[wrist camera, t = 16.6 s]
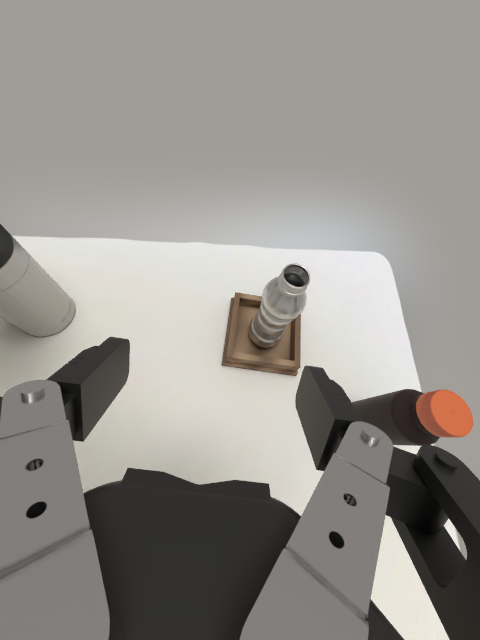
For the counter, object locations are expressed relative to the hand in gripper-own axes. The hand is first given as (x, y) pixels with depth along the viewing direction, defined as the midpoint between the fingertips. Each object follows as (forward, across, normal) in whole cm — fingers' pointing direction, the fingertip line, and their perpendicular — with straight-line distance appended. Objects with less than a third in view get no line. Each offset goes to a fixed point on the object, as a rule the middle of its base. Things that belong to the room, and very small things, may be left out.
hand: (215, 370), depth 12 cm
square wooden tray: (+36, -8, +13) cm, 39 cm away
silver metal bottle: (+36, -8, +12) cm, 39 cm away
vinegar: (+26, -26, +23) cm, 44 cm away
